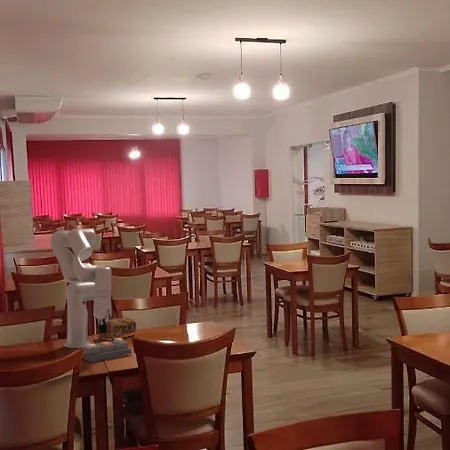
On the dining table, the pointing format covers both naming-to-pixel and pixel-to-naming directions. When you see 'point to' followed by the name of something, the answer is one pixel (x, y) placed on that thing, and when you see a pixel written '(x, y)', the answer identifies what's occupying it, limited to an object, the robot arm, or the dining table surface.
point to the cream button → (91, 345)
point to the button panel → (105, 351)
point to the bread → (118, 328)
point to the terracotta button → (104, 343)
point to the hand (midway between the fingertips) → (102, 332)
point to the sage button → (118, 340)
